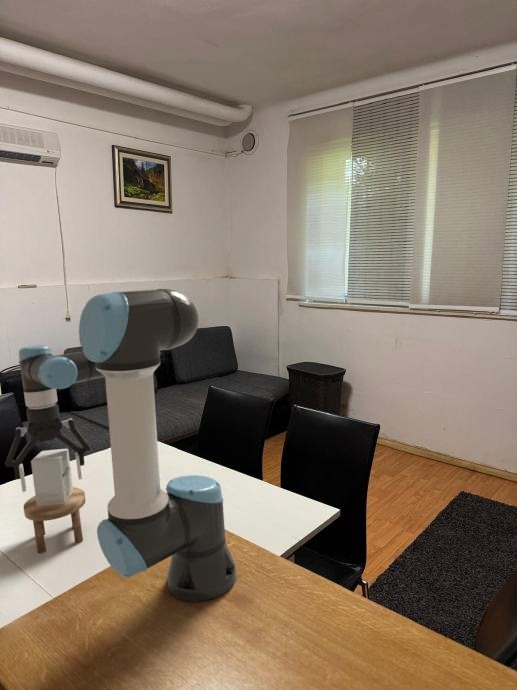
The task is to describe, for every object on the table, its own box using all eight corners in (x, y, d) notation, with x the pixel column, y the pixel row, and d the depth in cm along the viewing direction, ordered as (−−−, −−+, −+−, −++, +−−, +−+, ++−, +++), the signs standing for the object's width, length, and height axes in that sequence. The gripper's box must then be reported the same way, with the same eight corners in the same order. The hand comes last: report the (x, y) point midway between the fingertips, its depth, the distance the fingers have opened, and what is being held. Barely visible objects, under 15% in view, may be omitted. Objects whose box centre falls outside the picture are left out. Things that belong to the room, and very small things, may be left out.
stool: (92, 543, 124) (87, 503, 123) (28, 560, 118) (22, 519, 117) (86, 518, 138) (82, 482, 136) (29, 533, 132) (24, 495, 130)
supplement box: (65, 504, 123) (59, 457, 121) (36, 507, 123) (29, 460, 121) (74, 492, 130) (69, 447, 129) (47, 494, 130) (41, 450, 128)
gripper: (91, 394, 131) (100, 468, 134) (-12, 410, 121) (0, 489, 124) (94, 400, 125) (103, 477, 128) (-15, 417, 115) (-2, 501, 117)
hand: (52, 483), depth 126 cm, fingers open, 13 cm apart
